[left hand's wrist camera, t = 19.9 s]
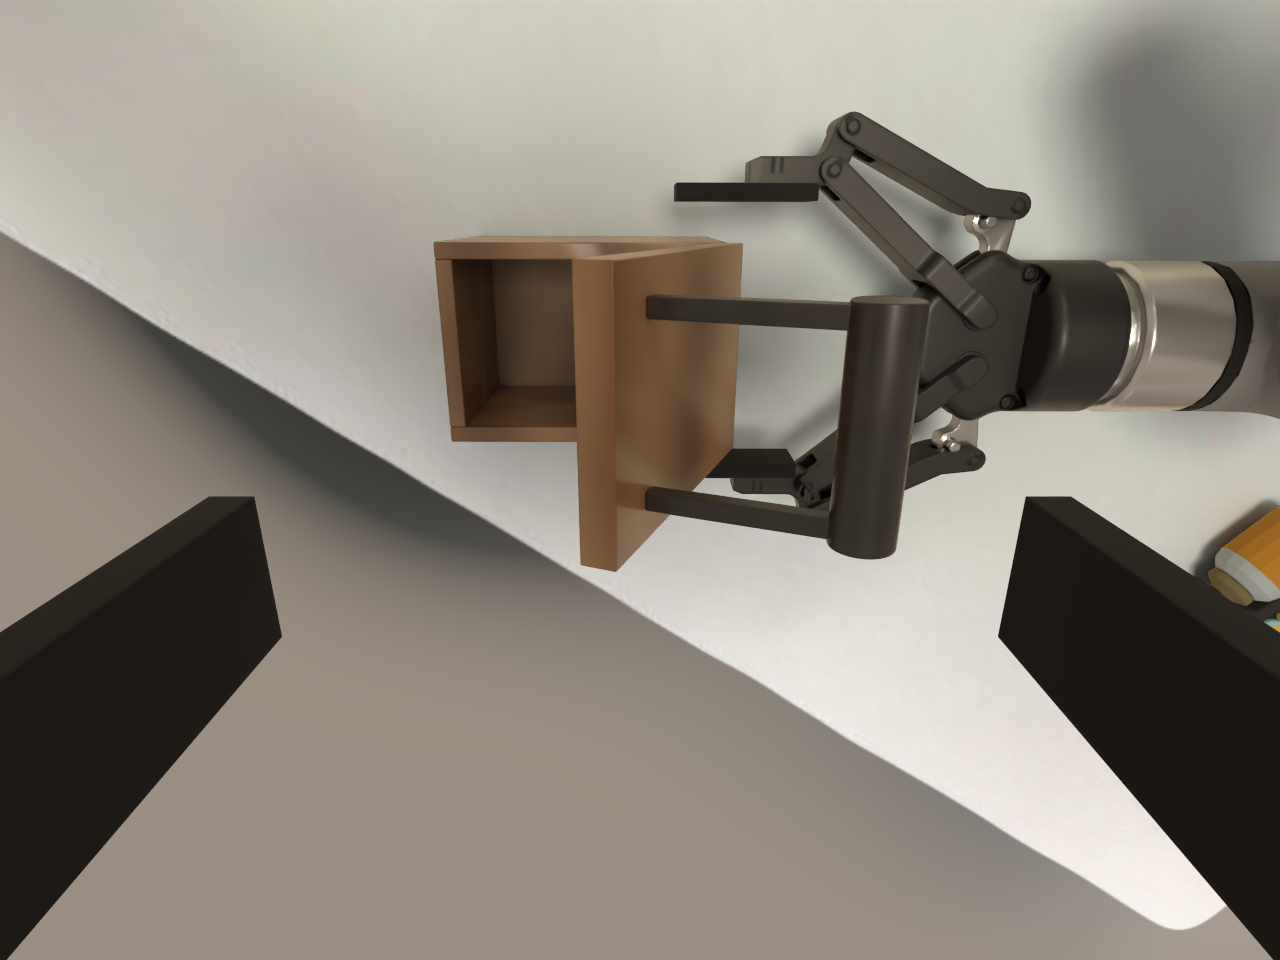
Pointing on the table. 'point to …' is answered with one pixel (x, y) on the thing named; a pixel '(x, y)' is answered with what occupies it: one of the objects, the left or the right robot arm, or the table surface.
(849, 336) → the lid
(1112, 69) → the table surface
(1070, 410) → the right robot arm
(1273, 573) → the spray gun
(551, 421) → the chest
